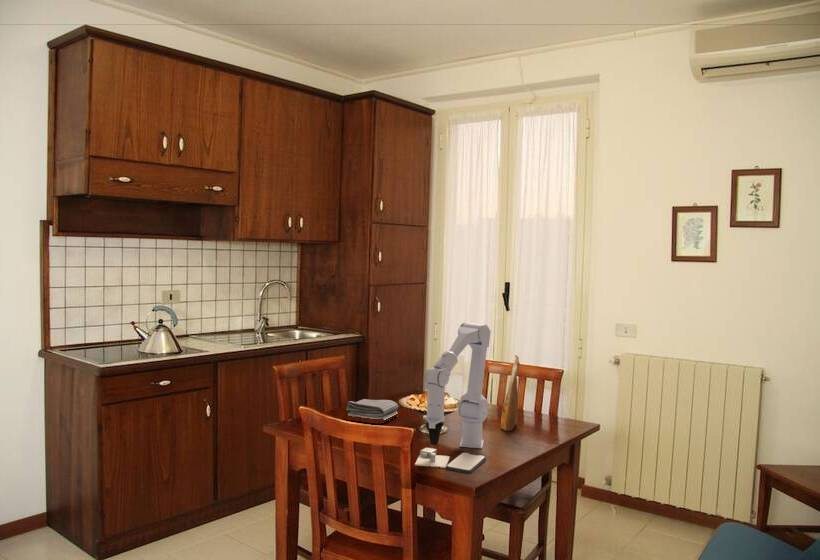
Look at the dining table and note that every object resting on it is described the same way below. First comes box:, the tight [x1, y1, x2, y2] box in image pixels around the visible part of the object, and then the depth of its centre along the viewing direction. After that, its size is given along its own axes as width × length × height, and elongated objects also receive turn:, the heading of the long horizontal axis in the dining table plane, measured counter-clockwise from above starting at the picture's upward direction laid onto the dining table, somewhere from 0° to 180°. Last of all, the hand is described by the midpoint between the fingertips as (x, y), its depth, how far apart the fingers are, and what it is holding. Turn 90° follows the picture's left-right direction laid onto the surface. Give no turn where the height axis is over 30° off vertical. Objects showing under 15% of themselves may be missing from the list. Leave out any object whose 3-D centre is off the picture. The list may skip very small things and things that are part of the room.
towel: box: [345, 398, 399, 420], centre depth 261 cm, size 15×18×8 cm
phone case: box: [445, 452, 487, 474], centre depth 208 cm, size 9×2×16 cm
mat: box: [414, 454, 451, 469], centre depth 210 cm, size 11×10×1 cm
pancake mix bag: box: [500, 354, 521, 432], centre depth 256 cm, size 7×19×28 cm, turn 165°
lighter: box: [419, 447, 437, 462], centre depth 212 cm, size 7×2×8 cm
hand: (434, 444), depth 212 cm, fingers closed
